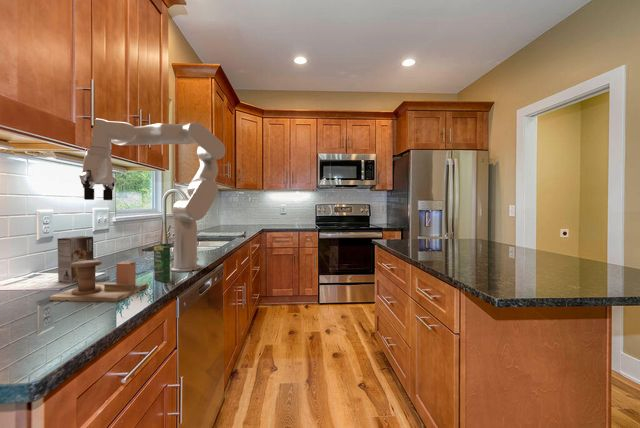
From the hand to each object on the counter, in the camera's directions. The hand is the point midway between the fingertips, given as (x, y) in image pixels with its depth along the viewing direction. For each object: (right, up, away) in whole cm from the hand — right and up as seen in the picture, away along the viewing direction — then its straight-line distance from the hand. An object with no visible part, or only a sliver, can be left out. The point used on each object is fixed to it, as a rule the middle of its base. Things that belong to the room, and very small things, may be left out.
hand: (98, 199), depth 116 cm
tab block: (+16, -30, -10) cm, 35 cm away
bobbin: (+8, -30, -17) cm, 35 cm away
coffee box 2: (+21, -31, +4) cm, 38 cm away
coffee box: (-11, -30, +3) cm, 32 cm away
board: (+11, -31, -14) cm, 36 cm away
